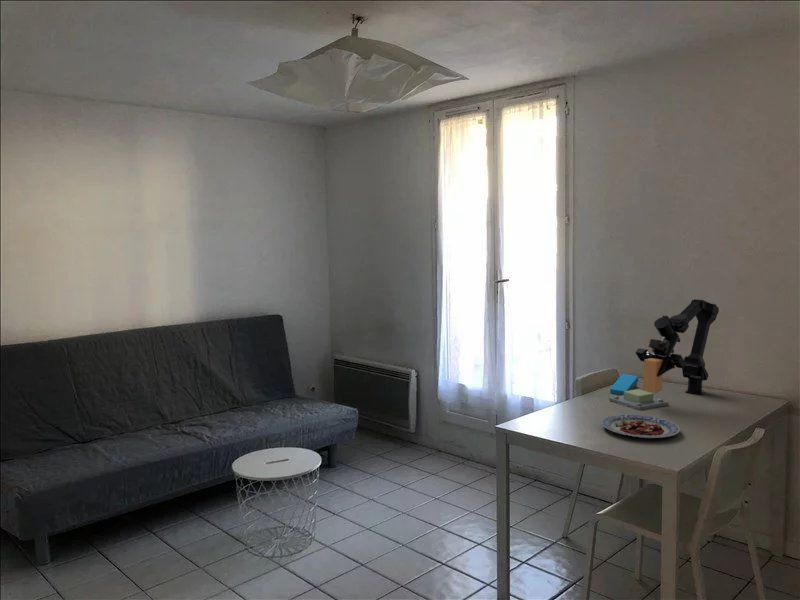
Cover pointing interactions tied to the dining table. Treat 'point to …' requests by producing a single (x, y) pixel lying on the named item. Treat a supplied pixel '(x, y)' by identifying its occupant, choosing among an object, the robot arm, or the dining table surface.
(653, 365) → the orange brick
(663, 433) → the ceramic plate
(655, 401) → the tower base
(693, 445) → the dining table surface
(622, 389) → the blue long block
